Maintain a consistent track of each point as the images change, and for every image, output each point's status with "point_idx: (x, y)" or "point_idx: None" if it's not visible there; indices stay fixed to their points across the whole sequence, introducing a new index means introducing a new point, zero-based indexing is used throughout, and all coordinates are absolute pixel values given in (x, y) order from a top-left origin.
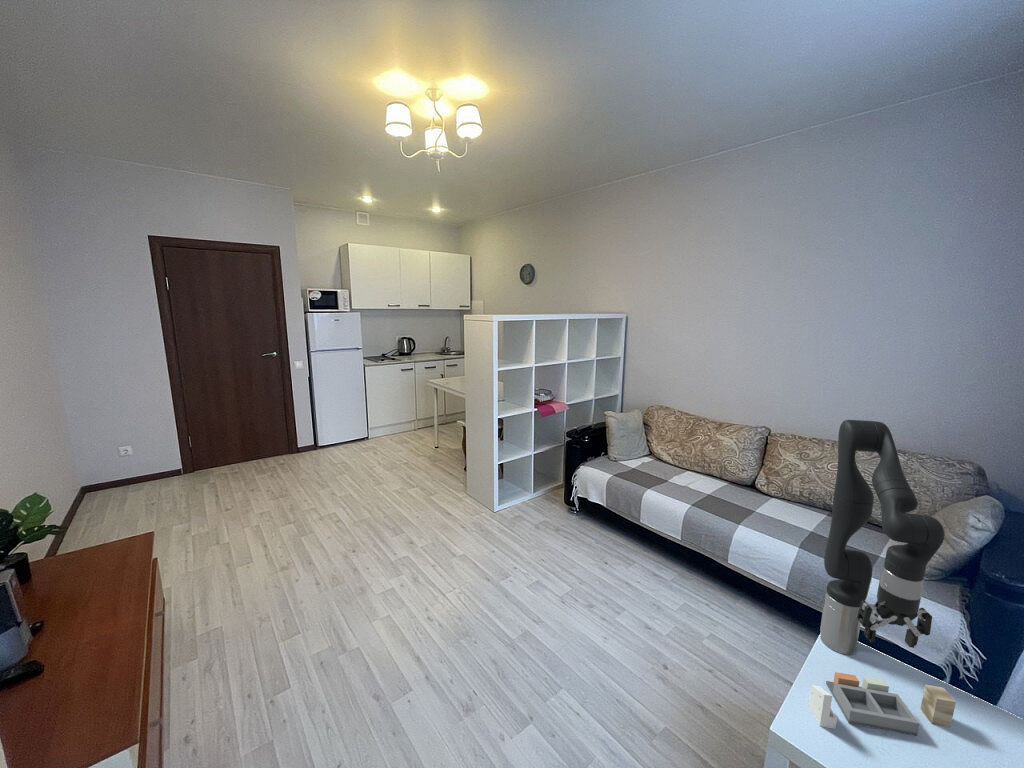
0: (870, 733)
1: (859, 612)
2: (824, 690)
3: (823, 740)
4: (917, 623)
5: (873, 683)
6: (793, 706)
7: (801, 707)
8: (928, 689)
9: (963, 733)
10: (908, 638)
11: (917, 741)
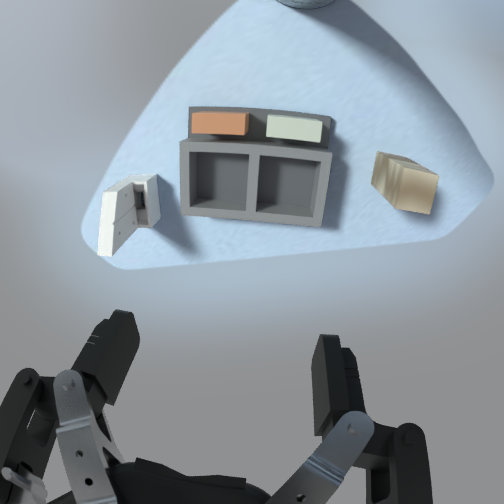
0: None
1: (2, 420)
2: (113, 222)
3: (133, 241)
4: (392, 462)
5: (281, 136)
6: (104, 184)
7: None
8: (401, 178)
9: None
10: (320, 378)
11: None
